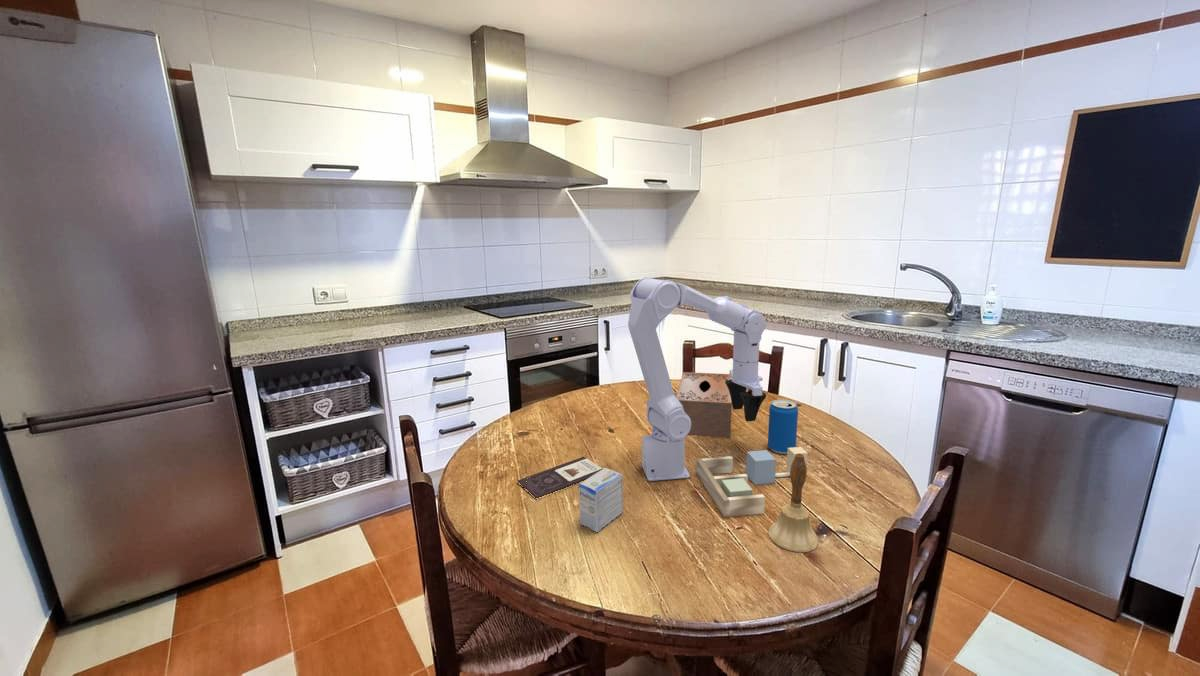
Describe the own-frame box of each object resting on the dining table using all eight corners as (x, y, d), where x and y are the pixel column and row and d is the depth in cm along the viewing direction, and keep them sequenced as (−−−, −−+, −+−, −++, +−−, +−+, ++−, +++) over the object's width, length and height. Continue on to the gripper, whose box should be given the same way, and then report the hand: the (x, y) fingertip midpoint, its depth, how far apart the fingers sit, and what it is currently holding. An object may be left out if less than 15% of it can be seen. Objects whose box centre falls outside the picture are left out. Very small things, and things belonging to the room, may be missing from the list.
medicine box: (605, 506, 95) (604, 466, 93) (623, 513, 92) (622, 473, 90) (579, 525, 89) (577, 483, 87) (598, 534, 86) (596, 491, 84)
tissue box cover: (682, 401, 151) (683, 372, 149) (729, 404, 148) (730, 374, 146) (675, 435, 127) (675, 400, 125) (730, 439, 123) (731, 403, 121)
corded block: (754, 484, 101) (755, 459, 99) (746, 474, 105) (747, 449, 104) (808, 480, 102) (809, 454, 100) (797, 470, 106) (798, 445, 105)
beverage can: (798, 456, 112) (801, 409, 110) (769, 454, 114) (771, 407, 111) (792, 444, 119) (795, 399, 116) (765, 443, 120) (768, 398, 117)
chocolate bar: (516, 480, 104) (583, 456, 115) (517, 484, 105) (583, 460, 115) (536, 498, 97) (605, 470, 108) (536, 502, 98) (605, 474, 108)
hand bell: (825, 535, 83) (832, 452, 80) (809, 559, 77) (815, 471, 74) (778, 517, 89) (783, 439, 85) (760, 539, 83) (764, 456, 79)
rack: (723, 517, 90) (724, 500, 89) (696, 473, 106) (696, 459, 105) (764, 513, 90) (765, 497, 90) (730, 470, 107) (731, 456, 106)
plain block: (729, 510, 92) (730, 491, 91) (721, 497, 96) (721, 480, 95) (751, 508, 92) (752, 489, 92) (742, 495, 97) (743, 478, 96)
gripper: (776, 367, 103) (773, 425, 106) (749, 351, 118) (747, 402, 120) (745, 369, 103) (743, 427, 106) (722, 353, 117) (720, 404, 120)
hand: (743, 414), depth 113 cm, fingers open, 7 cm apart
